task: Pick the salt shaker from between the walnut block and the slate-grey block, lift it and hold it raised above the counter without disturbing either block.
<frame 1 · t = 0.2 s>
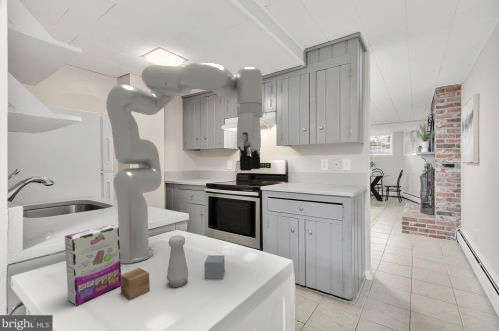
hand: (250, 169, 72), 31 cm above the counter, tool pointing down, fingers open, 9 cm apart
walnut block: (135, 292, 62), on the counter
salt shaker: (177, 283, 67), on the counter
slate-grey block: (215, 275, 71), on the counter
candy bar box: (95, 293, 63), on the counter
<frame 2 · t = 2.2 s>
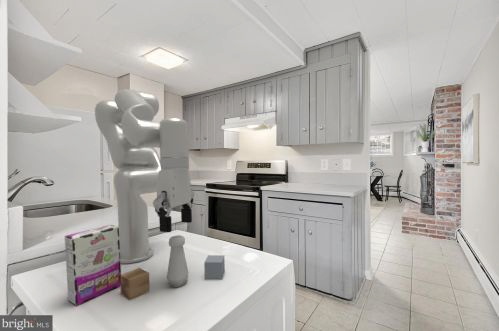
hand: (176, 226, 66), 16 cm above the counter, tool pointing down, fingers open, 9 cm apart
nothing on the counter moved.
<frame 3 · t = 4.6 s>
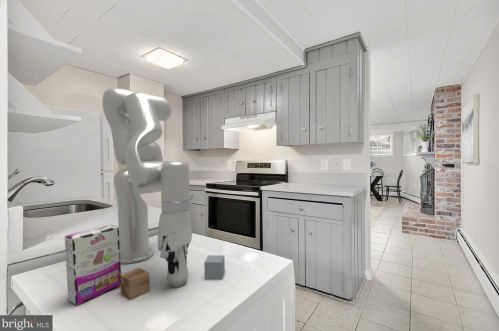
hand: (177, 271, 67), 3 cm above the counter, tool pointing down, fingers closed on salt shaker, 3 cm apart
salt shaker: (177, 284, 67), on the counter, touching gripper
everything else where it was.
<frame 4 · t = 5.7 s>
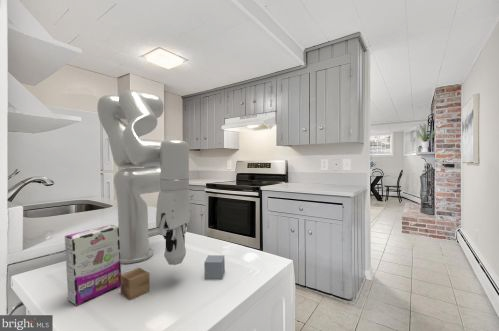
hand: (175, 250, 67), 9 cm above the counter, tool pointing down, fingers closed on salt shaker, 3 cm apart
salt shaker: (175, 262, 67), point 6 cm above the counter, touching gripper
everything else where it was.
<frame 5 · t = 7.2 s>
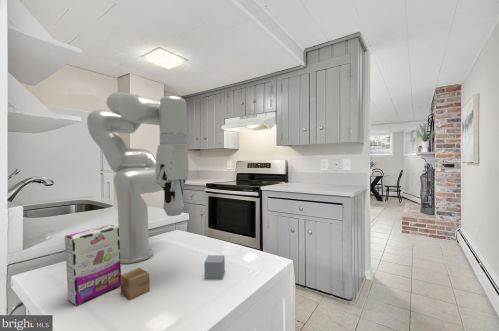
hand: (173, 203, 70), 22 cm above the counter, tool pointing down, fingers closed on salt shaker, 3 cm apart
salt shaker: (173, 215, 70), point 18 cm above the counter, touching gripper
everything else where it was.
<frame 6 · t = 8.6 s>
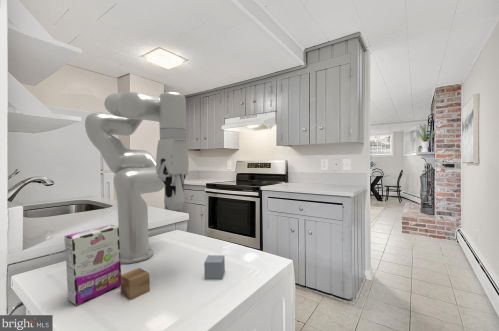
hand: (174, 197, 71), 23 cm above the counter, tool pointing down, fingers closed on salt shaker, 3 cm apart
salt shaker: (174, 209, 71), point 20 cm above the counter, touching gripper
everything else where it was.
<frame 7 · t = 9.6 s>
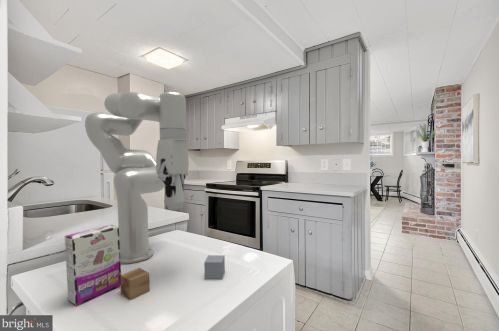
hand: (174, 197, 71), 23 cm above the counter, tool pointing down, fingers closed on salt shaker, 3 cm apart
salt shaker: (174, 209, 71), point 20 cm above the counter, touching gripper
everything else where it was.
at the end: salt shaker point 19.6 cm above the counter; walnut block moved 0.1 cm from its start; slate-grey block moved 0.1 cm from its start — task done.
